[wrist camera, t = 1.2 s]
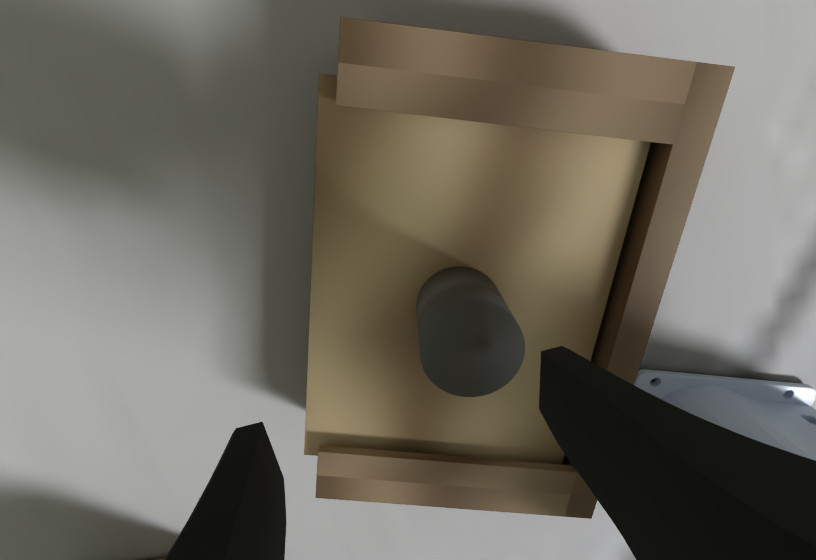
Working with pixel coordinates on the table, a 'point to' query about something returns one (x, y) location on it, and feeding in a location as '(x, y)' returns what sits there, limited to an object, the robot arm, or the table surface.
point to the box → (548, 110)
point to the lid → (454, 276)
